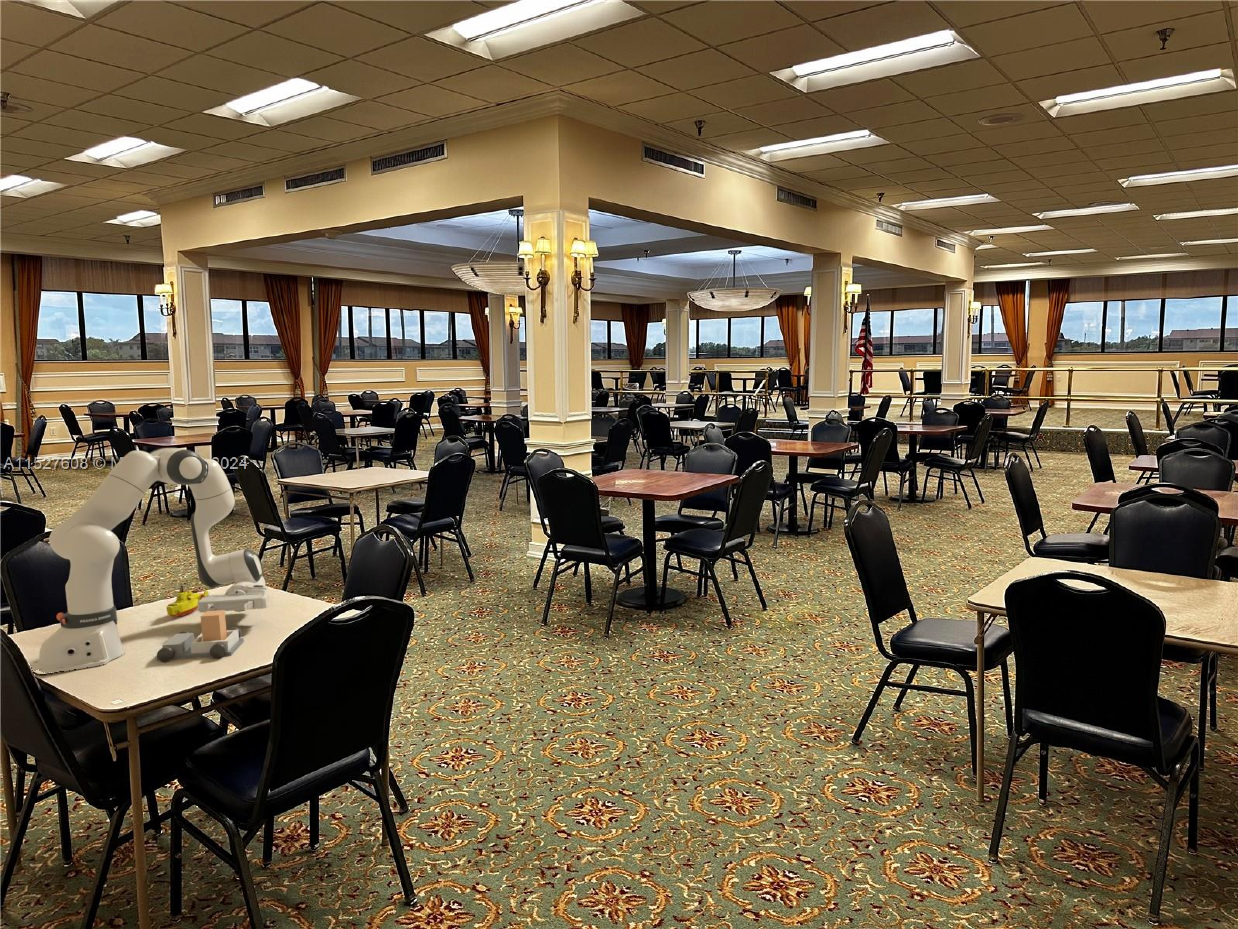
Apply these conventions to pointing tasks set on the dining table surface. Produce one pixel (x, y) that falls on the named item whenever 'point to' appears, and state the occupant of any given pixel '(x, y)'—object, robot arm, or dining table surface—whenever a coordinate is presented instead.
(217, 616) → the block
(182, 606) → the toy boat
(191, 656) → the chassis
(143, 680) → the dining table surface
